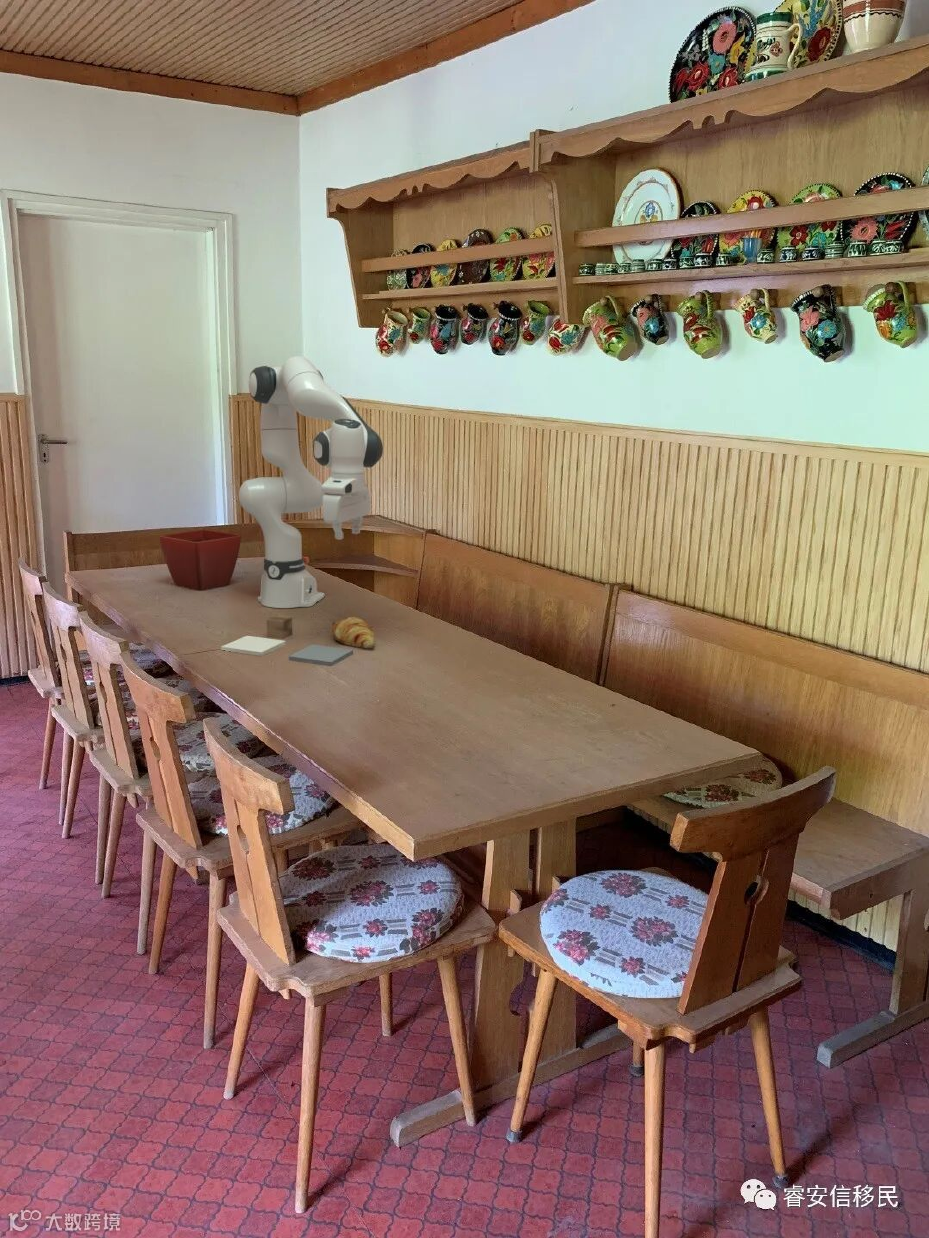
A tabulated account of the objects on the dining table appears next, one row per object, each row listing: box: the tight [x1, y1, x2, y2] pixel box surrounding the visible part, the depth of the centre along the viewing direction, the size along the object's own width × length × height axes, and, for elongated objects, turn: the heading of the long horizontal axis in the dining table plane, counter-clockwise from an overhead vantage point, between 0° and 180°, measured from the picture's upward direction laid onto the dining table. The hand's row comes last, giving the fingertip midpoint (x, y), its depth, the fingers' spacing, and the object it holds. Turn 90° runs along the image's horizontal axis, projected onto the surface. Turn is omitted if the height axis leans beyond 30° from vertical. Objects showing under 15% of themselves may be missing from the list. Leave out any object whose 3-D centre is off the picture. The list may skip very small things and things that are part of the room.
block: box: [266, 614, 293, 640], centre depth 276 cm, size 5×5×5 cm
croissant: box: [331, 615, 376, 649], centre depth 272 cm, size 21×10×8 cm, turn 35°
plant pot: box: [159, 529, 242, 591], centre depth 332 cm, size 19×19×17 cm
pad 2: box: [288, 643, 354, 667], centre depth 257 cm, size 12×12×1 cm
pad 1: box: [220, 635, 287, 657], centre depth 264 cm, size 12×12×1 cm
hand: (347, 536), depth 264 cm, fingers open, 8 cm apart
